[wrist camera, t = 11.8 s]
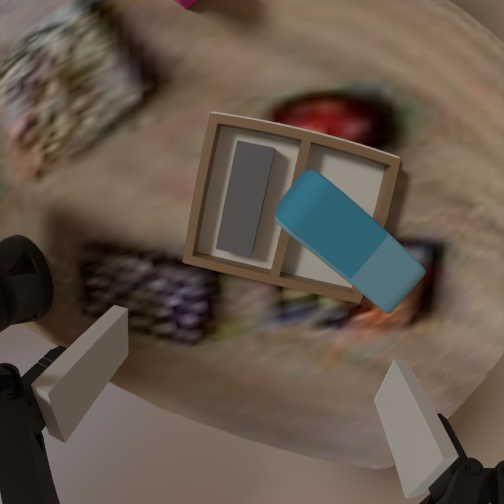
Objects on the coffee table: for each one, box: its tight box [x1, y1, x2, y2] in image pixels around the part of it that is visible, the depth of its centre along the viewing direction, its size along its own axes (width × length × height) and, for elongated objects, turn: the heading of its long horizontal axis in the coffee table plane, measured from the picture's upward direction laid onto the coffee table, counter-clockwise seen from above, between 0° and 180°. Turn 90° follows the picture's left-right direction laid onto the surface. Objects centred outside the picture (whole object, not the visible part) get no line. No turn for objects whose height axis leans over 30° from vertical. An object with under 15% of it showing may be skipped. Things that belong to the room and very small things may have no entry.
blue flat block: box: [274, 170, 426, 314], centre depth 26 cm, size 12×4×12 cm, turn 53°
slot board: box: [183, 111, 401, 304], centre depth 33 cm, size 22×18×3 cm
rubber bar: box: [216, 140, 276, 257], centre depth 33 cm, size 4×12×2 cm, turn 168°
